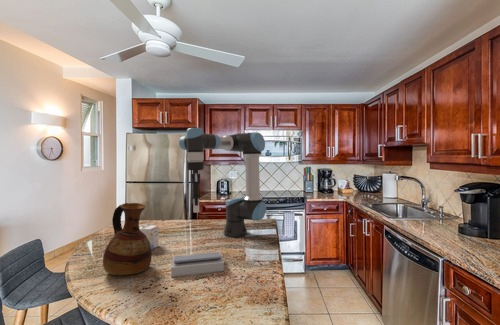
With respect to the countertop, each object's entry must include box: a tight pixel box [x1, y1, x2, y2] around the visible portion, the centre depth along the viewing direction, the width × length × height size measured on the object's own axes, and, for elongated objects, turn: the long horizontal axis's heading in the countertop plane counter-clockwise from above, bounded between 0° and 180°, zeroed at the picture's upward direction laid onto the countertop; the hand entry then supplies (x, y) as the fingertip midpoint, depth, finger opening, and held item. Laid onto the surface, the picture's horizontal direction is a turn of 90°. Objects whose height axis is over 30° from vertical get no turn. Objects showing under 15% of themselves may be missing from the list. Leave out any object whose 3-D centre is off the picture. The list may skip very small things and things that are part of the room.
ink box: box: [139, 222, 159, 251], centre depth 151 cm, size 9×8×13 cm
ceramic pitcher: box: [102, 202, 153, 276], centre depth 119 cm, size 20×20×30 cm
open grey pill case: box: [170, 251, 225, 278], centre depth 121 cm, size 22×14×4 cm, turn 103°
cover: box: [174, 251, 222, 263], centre depth 121 cm, size 20×8×1 cm, turn 103°
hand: (196, 212), depth 126 cm, fingers closed
